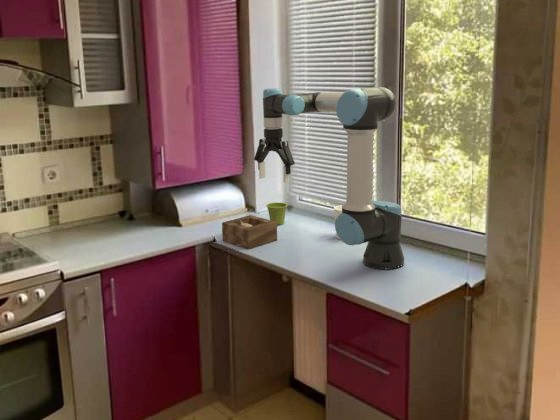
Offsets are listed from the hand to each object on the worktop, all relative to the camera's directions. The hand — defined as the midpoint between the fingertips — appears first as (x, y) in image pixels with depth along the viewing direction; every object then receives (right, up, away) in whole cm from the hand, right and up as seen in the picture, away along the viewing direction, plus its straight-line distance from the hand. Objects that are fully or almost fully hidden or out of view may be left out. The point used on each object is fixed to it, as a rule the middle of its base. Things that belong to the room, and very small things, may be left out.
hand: (274, 180), depth 263 cm
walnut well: (-10, -25, +5) cm, 27 cm away
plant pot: (+1, -19, +29) cm, 35 cm away
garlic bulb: (-11, -24, +5) cm, 27 cm away
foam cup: (+29, -24, +8) cm, 39 cm away
